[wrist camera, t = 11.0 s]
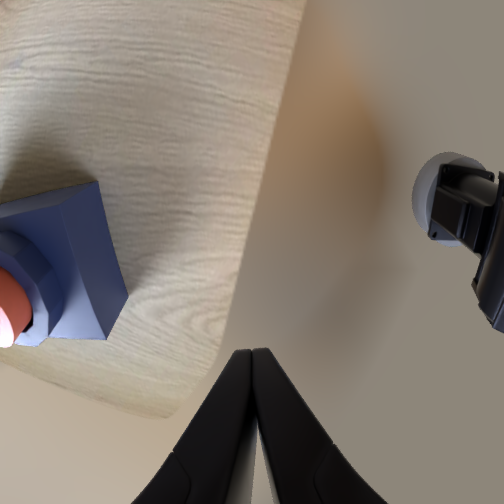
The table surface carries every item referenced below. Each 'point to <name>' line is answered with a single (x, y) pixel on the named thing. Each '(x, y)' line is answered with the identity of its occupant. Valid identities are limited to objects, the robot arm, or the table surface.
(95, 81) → the table surface
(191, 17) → the table surface
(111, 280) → the button housing
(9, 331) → the red button cap
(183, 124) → the table surface
